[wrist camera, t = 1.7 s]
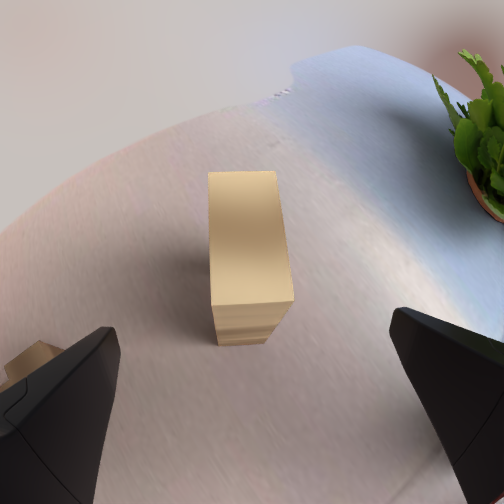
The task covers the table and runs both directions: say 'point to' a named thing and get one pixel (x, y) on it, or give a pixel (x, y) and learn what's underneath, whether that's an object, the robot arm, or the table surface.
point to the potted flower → (481, 138)
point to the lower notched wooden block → (29, 362)
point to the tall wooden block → (247, 256)
